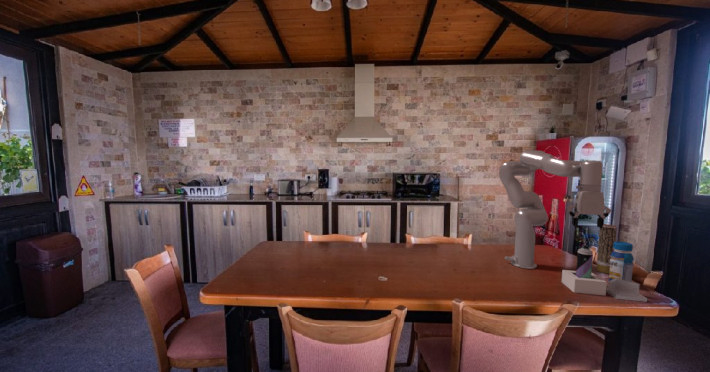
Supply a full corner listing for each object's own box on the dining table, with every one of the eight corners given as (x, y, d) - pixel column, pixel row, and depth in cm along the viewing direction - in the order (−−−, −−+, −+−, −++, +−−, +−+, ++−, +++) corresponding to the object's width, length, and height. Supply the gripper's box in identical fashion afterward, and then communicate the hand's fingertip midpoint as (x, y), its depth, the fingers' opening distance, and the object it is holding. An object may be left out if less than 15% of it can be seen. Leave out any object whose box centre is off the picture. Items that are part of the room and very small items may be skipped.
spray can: (571, 286, 138) (575, 243, 137) (582, 285, 139) (586, 243, 137) (581, 291, 133) (585, 247, 131) (593, 290, 133) (596, 247, 132)
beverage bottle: (633, 289, 135) (637, 246, 134) (609, 285, 140) (613, 243, 138) (629, 283, 142) (632, 242, 141) (606, 279, 147) (609, 239, 145)
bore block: (574, 292, 131) (575, 279, 131) (561, 282, 143) (562, 269, 142) (605, 295, 129) (606, 282, 128) (590, 284, 140) (591, 272, 140)
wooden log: (616, 274, 154) (620, 227, 152) (601, 273, 155) (604, 226, 153) (607, 270, 161) (611, 224, 159) (593, 269, 162) (597, 223, 160)
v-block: (600, 288, 136) (601, 276, 136) (629, 291, 134) (630, 279, 133) (615, 298, 126) (616, 286, 125) (647, 301, 123) (648, 289, 123)
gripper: (572, 188, 131) (569, 227, 132) (618, 190, 127) (615, 229, 128) (564, 187, 138) (561, 224, 139) (607, 188, 134) (604, 226, 135)
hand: (587, 226), depth 134 cm, fingers open, 9 cm apart
